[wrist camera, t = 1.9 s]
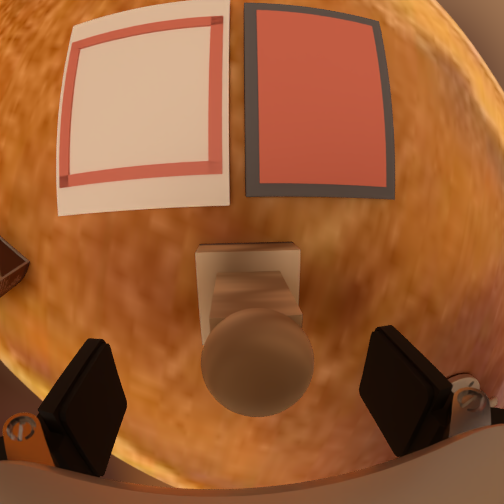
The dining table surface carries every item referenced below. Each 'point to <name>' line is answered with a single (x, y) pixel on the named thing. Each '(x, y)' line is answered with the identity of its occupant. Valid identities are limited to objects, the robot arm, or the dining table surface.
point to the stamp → (252, 326)
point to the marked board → (146, 110)
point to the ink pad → (316, 104)
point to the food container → (11, 266)
